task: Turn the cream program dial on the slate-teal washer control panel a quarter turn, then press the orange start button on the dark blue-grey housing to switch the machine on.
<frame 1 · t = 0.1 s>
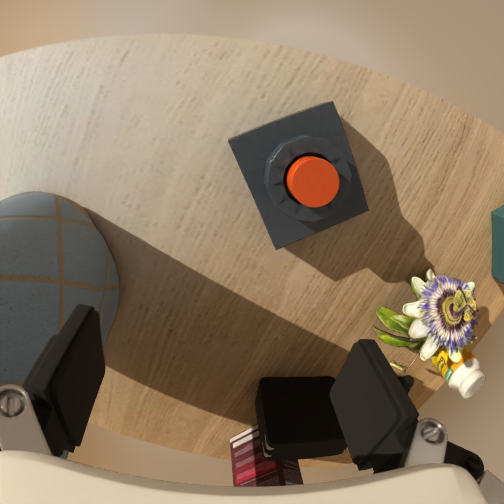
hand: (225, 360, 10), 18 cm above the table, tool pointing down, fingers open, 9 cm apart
planter: (50, 269, 27), on the table
start button: (312, 181, 22), point 4 cm above the table, slide at 0.1 cm
electronic device: (294, 386, 36), on the table
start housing: (298, 172, 26), on the table
supplement box: (260, 431, 40), on the table
supplement bottle: (440, 345, 37), on the table
passion flower: (415, 302, 33), on the table
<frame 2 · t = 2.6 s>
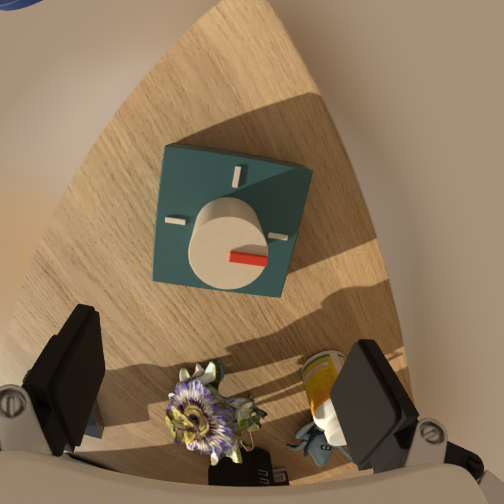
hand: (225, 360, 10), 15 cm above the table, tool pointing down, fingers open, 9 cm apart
electronic device: (237, 457, 39), on the table
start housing: (66, 401, 31), on the table
program dial: (227, 241, 19), point 5 cm above the table, hinge at 0.0°
supplement box: (274, 475, 43), on the table
supplement bottle: (322, 365, 31), on the table
figurine: (319, 424, 37), on the table
dial panel: (226, 215, 24), on the table
passion flower: (218, 384, 31), on the table
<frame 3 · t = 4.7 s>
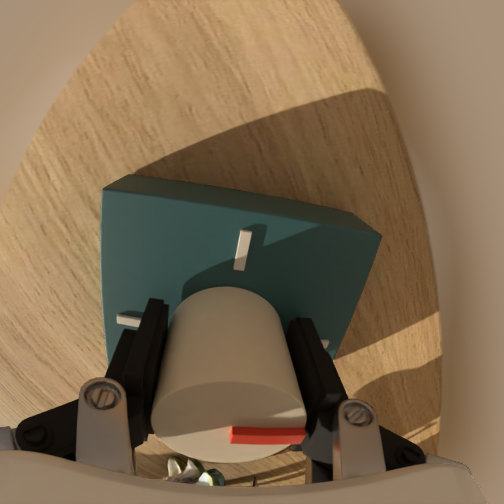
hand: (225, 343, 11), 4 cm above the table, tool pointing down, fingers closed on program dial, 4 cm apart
program dial: (226, 379, 9), point 5 cm above the table, hinge at 0.1°, touching gripper
dial panel: (224, 294, 14), on the table
passion flower: (217, 470, 22), on the table
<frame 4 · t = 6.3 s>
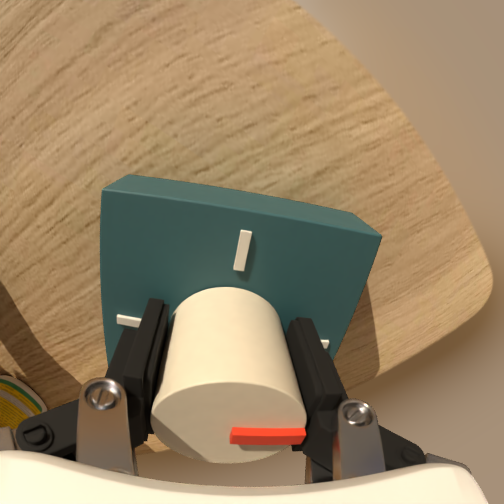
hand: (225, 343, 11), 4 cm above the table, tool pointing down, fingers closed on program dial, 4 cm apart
program dial: (226, 379, 9), point 5 cm above the table, hinge at 90.5°, touching gripper
supplement bottle: (23, 394, 17), on the table
dial panel: (224, 295, 14), on the table
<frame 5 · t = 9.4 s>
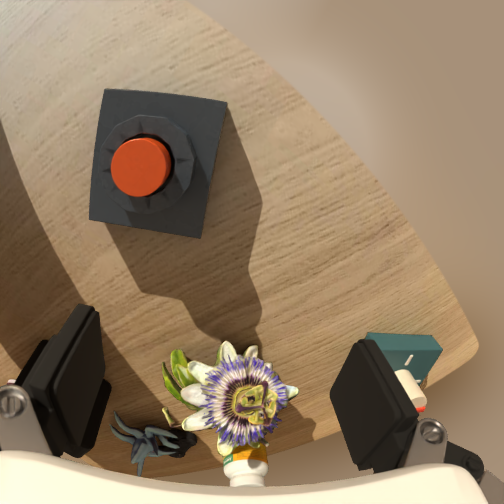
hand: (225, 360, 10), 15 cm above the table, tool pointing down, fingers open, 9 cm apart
start button: (141, 166, 18), point 4 cm above the table, slide at 0.1 cm
electronic device: (73, 368, 30), on the table
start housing: (156, 159, 22), on the table
program dial: (402, 397, 28), point 5 cm above the table, hinge at 90.1°
supplement bottle: (242, 427, 35), on the table
figurine: (152, 430, 35), on the table
dial panel: (384, 366, 33), on the table
passion flower: (225, 369, 31), on the table
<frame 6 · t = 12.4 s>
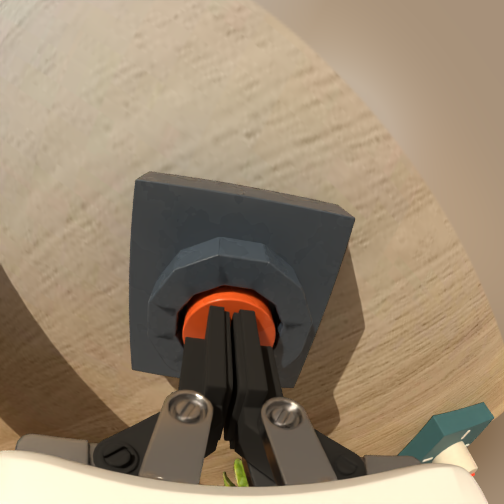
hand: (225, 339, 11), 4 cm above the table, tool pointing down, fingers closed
start button: (228, 325, 12), point 4 cm above the table, slide at -0.9 cm, touching gripper
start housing: (227, 283, 15), on the table
program dial: (455, 466, 21), point 5 cm above the table, hinge at 90.1°
dial panel: (438, 435, 26), on the table
passion flower: (288, 465, 24), on the table
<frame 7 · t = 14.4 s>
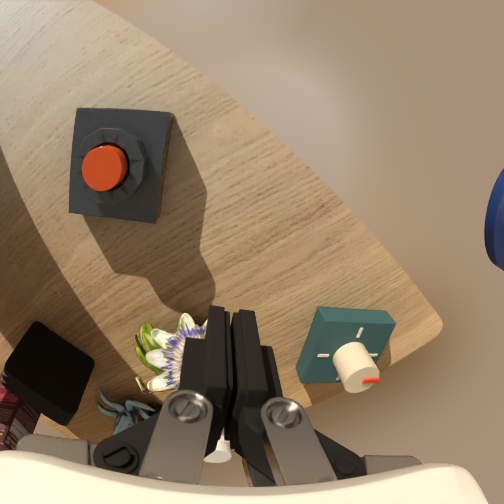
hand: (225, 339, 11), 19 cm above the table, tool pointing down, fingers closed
start button: (104, 167, 22), point 4 cm above the table, slide at 0.1 cm
electronic device: (61, 347, 34), on the table
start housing: (120, 161, 26), on the table
program dial: (355, 368, 32), point 5 cm above the table, hinge at 90.1°
supplement box: (30, 373, 35), on the table
supplement bottle: (213, 400, 40), on the table
figurine: (133, 406, 39), on the table
dial panel: (341, 340, 37), on the table
passion flower: (190, 341, 35), on the table
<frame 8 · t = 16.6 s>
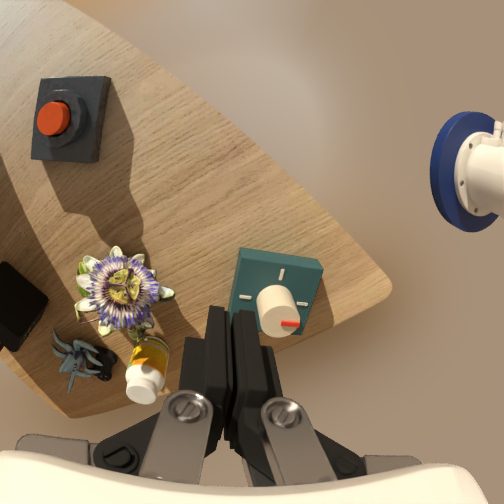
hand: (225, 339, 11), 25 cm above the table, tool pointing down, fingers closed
start button: (53, 118, 24), point 4 cm above the table, slide at 0.1 cm
electronic device: (24, 287, 37), on the table
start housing: (71, 118, 29), on the table
program dial: (277, 311, 35), point 5 cm above the table, hinge at 90.1°
supplement bottle: (152, 347, 42), on the table
figurine: (83, 351, 42), on the table
dial panel: (270, 288, 40), on the table
passion flower: (126, 279, 38), on the table
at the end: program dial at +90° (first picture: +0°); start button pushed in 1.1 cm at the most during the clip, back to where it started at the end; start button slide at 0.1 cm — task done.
